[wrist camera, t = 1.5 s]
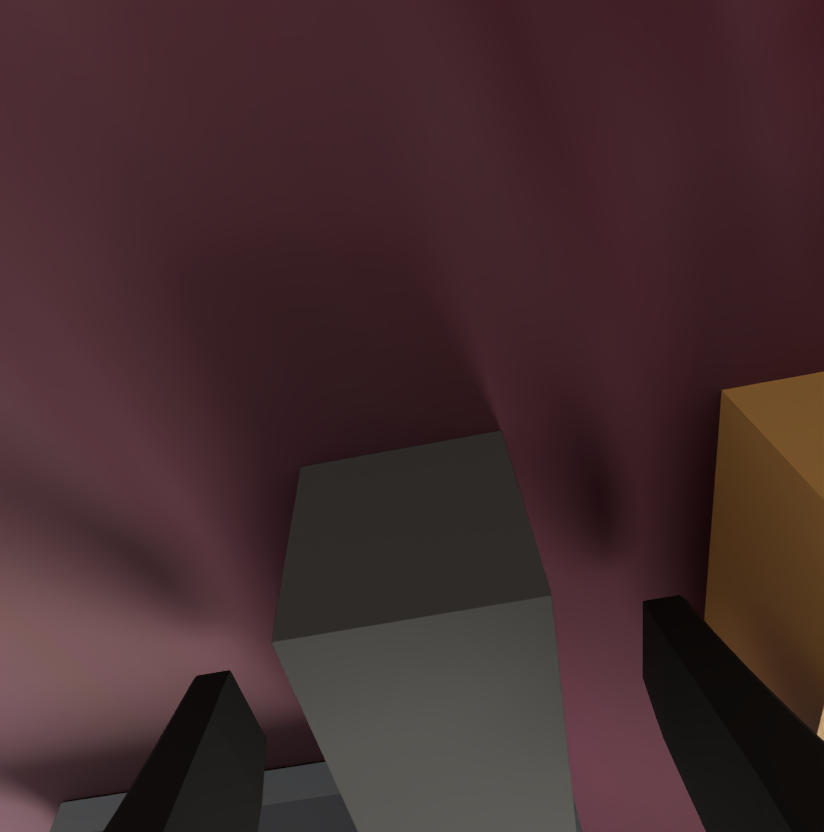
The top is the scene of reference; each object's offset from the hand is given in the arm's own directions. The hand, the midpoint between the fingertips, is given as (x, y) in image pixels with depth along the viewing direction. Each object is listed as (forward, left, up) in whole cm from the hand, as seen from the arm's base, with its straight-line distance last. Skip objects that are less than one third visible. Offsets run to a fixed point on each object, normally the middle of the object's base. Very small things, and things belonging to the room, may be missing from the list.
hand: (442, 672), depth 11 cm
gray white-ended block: (0, 0, -2) cm, 2 cm away
